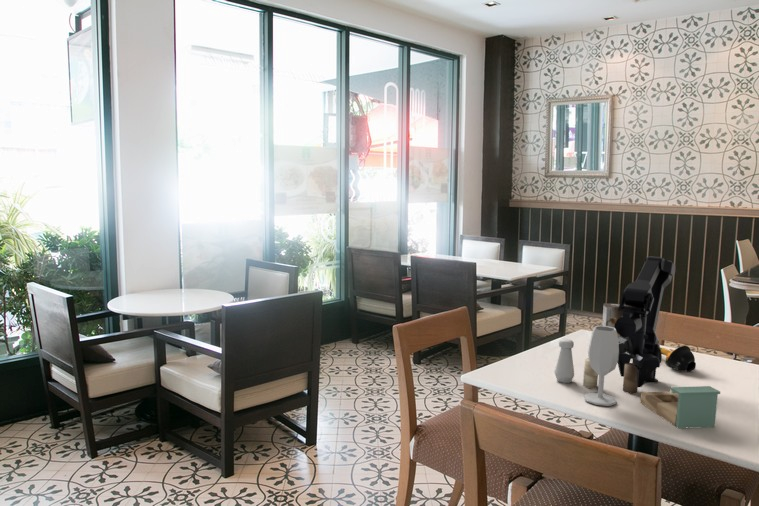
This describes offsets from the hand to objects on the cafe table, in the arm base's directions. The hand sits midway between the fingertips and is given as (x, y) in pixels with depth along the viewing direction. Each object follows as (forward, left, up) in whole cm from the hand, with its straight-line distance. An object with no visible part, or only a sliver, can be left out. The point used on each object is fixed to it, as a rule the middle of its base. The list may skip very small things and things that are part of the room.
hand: (630, 381), depth 178 cm
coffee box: (-19, -44, -3) cm, 48 cm away
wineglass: (+13, +7, -3) cm, 15 cm away
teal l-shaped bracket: (-3, +25, -3) cm, 25 cm away
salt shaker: (+16, -10, -3) cm, 19 cm away
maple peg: (+10, -5, -3) cm, 12 cm away
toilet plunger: (-28, -22, -3) cm, 36 cm away
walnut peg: (0, 0, -3) cm, 3 cm away
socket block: (-3, +17, -3) cm, 18 cm away
